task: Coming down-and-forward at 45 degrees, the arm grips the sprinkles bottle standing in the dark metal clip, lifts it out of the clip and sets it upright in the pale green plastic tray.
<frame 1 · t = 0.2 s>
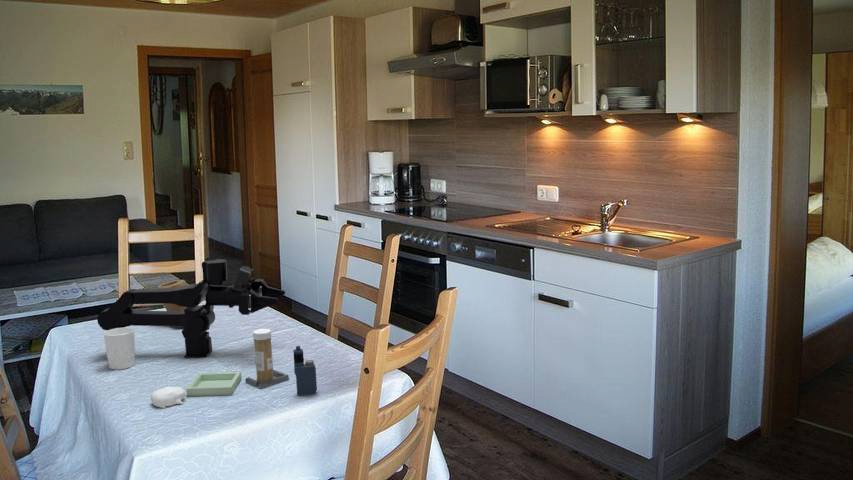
hand: (281, 296, 212), 17 cm above the table, tool horizontal, fingers open, 9 cm apart
tray: (215, 387, 188), on the table
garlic: (169, 404, 179), on the table
sprinkles bottle: (265, 381, 192), on the table
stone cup: (181, 325, 248), on the table
white cup: (122, 366, 207), on the table
vaping device: (306, 393, 182), on the table
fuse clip: (265, 380, 192), on the table
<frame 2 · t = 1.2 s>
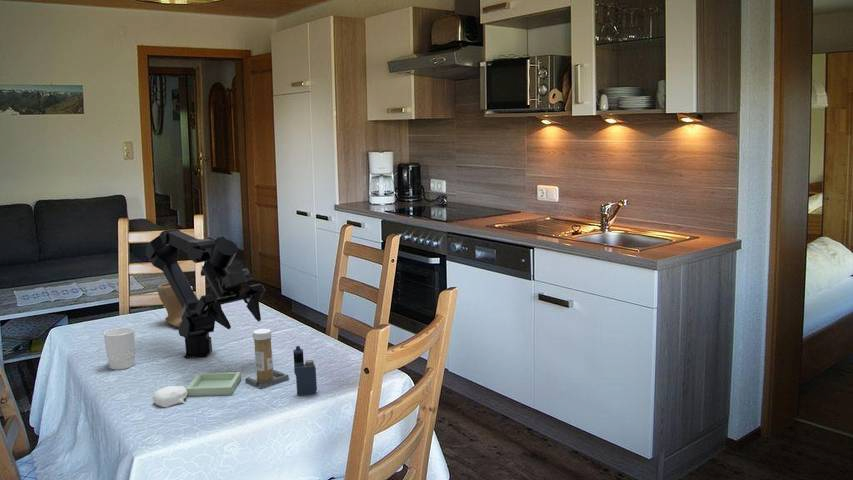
hand: (245, 324, 195), 14 cm above the table, tool tilted 45°, fingers open, 9 cm apart
nothing on the table moved.
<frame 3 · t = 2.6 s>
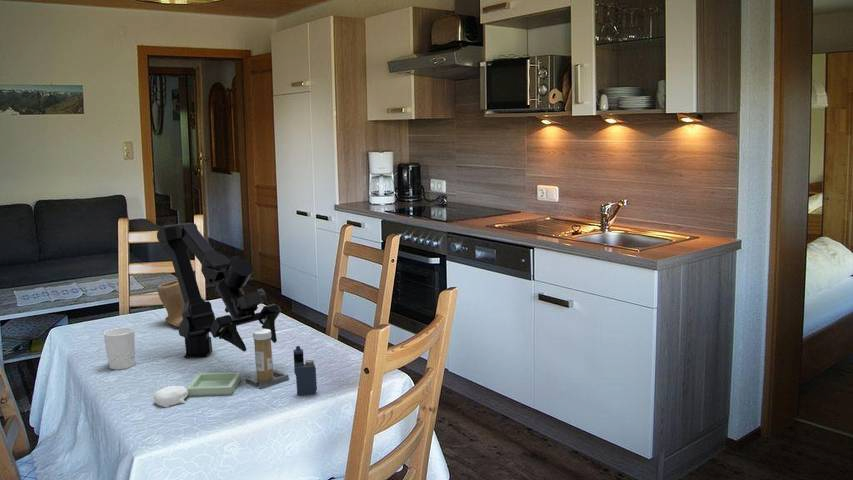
hand: (260, 346, 191), 9 cm above the table, tool tilted 45°, fingers open, 9 cm apart
nothing on the table moved.
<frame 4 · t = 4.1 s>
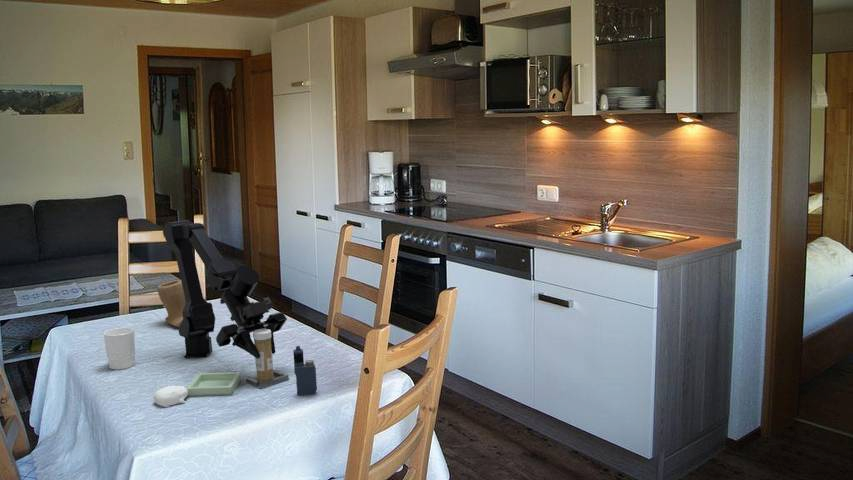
hand: (266, 355, 190), 7 cm above the table, tool tilted 45°, fingers closed on sprinkles bottle, 4 cm apart
sprinkles bottle: (265, 381, 192), on the table, touching gripper
everything else where it was.
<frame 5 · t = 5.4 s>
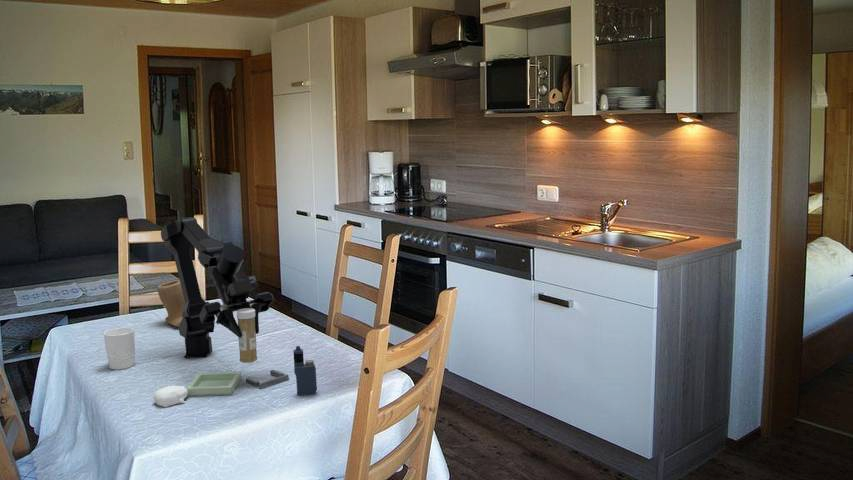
hand: (249, 334, 187), 13 cm above the table, tool tilted 45°, fingers closed on sprinkles bottle, 4 cm apart
sprinkles bottle: (248, 361, 189), point 6 cm above the table, touching gripper
everything else where it was.
when the fingers open (9 cm above the table, at t = 7.2 s): sprinkles bottle drops 1 cm, resting on tray.
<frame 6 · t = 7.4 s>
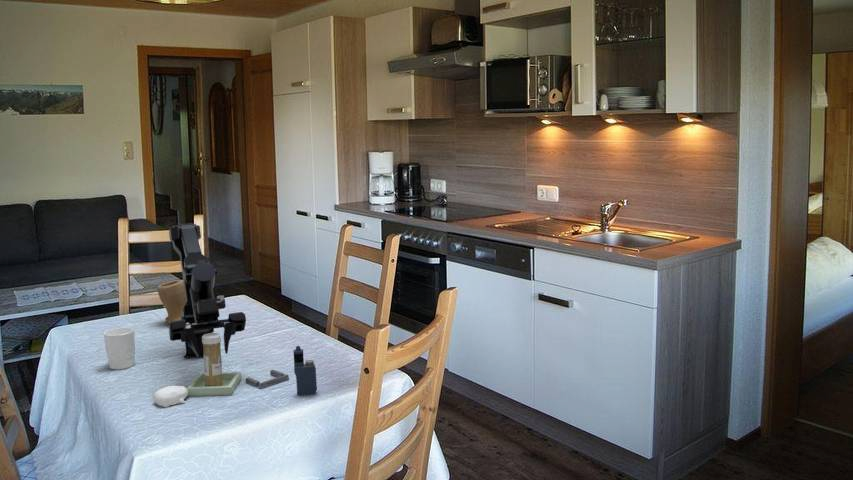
hand: (213, 355, 185), 9 cm above the table, tool tilted 45°, fingers open, 6 cm apart
sprinkles bottle: (213, 386, 188), resting on tray
everything else where it was.
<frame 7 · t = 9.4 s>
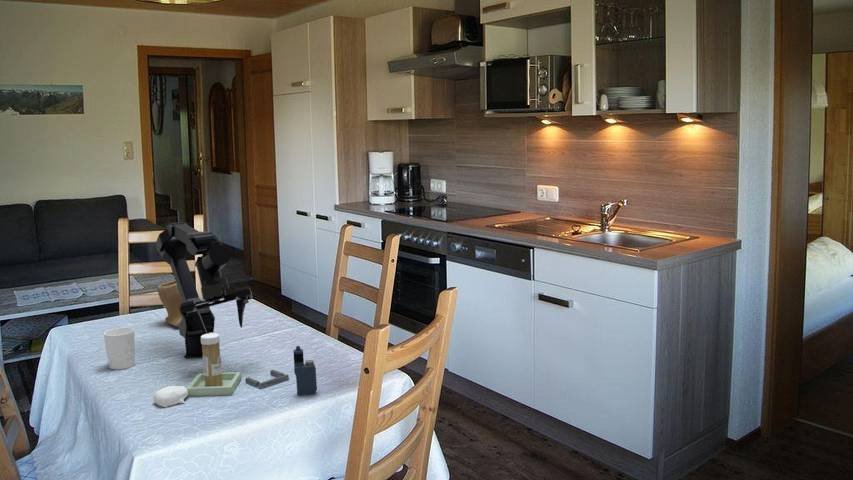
hand: (224, 332, 197), 11 cm above the table, tool tilted 25°, fingers open, 9 cm apart
nothing on the table moved.
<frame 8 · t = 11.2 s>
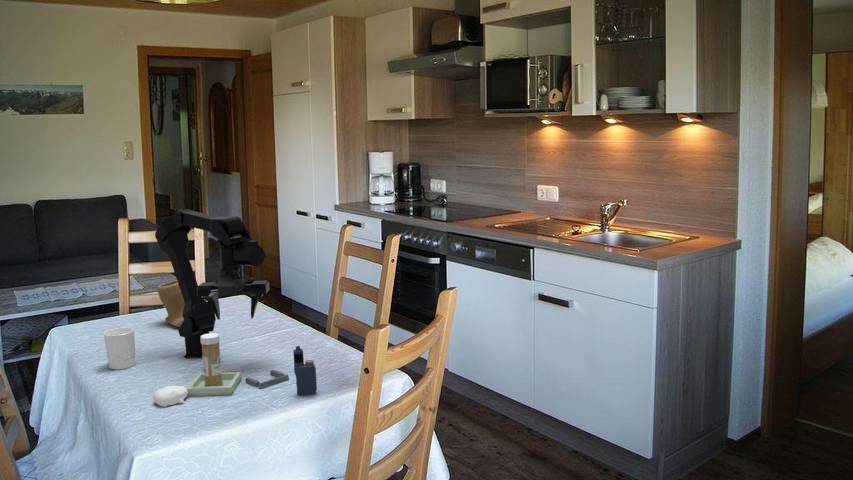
hand: (235, 318, 203), 13 cm above the table, tool pointing down, fingers open, 9 cm apart
nothing on the table moved.
at the end: sprinkles bottle inside the target area on the tray (0.3 cm from its centre), point 0.2 cm above the tray's base; sprinkles bottle tilted 0°; the gripper is holding nothing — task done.
